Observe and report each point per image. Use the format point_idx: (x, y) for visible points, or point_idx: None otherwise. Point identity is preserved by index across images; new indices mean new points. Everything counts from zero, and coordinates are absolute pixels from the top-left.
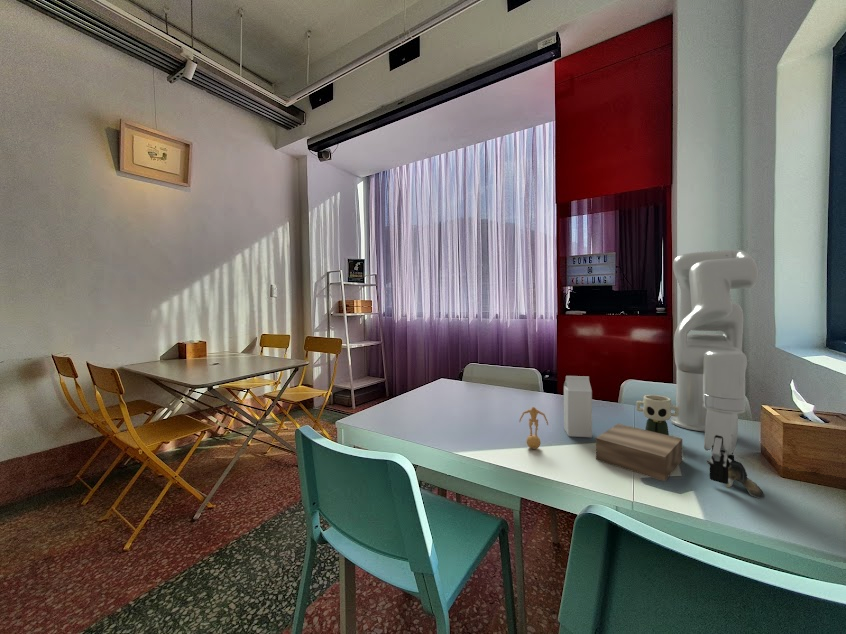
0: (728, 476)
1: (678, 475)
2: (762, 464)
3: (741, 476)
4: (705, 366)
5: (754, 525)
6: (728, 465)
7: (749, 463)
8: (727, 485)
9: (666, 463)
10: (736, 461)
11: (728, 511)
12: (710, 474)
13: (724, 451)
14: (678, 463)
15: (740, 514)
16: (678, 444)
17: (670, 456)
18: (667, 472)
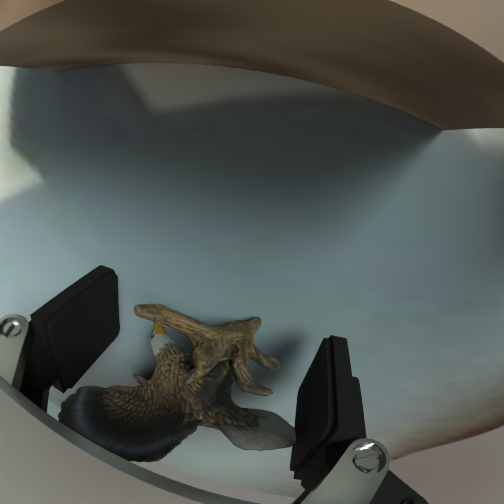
0: (161, 360)
1: (149, 98)
2: (470, 431)
3: (98, 402)
4: None
5: (8, 311)
6: (301, 402)
7: (476, 410)
8: (159, 325)
9: (2, 59)
10: (144, 460)
11: (11, 273)
12: (86, 278)
13: (311, 473)
14: (345, 88)
15: (19, 298)
16: (375, 12)
17: (40, 36)
18: (62, 61)
